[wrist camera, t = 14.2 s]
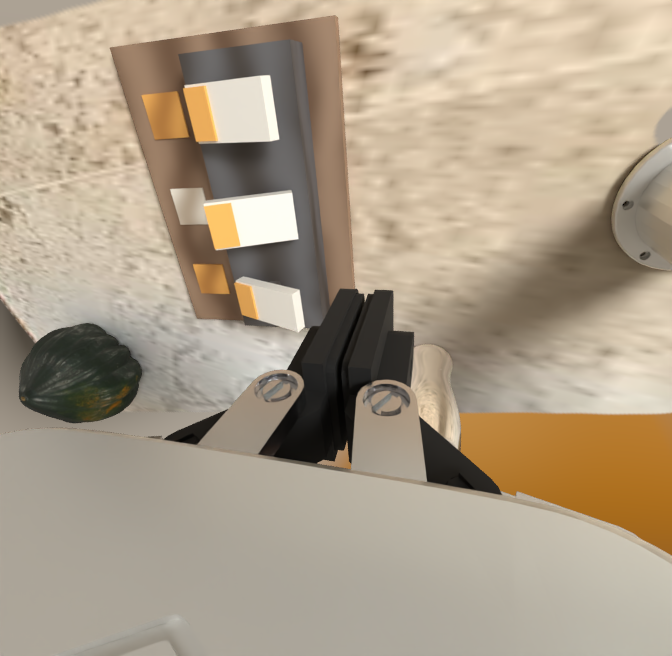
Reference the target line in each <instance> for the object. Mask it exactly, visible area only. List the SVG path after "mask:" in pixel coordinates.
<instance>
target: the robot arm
mask: <svg viewBox="0 0 672 656" xmlns="http://www.w3.org/2000/svg"><path fill="white" fill-rule="evenodd" d="M625 201H627V203H626V204H625V205H623V203H624V202H625ZM611 222H612V231H613V234H614V237H615V239H616V242H617V243H618V245H619V246H620V247H621V249H622V250H623V251H624V252H625V253H626V254H627V255H628V256H629V257H630V258H632V259H633V260H635V261H636V262H638V263H640V264H642V265H645V266H648V267H650V268H655V269H660V270H672V138H670V139H668V140H666V141H665V142H663V143H662V144H661V145H659V146H658V147H657V148H655V149H654V150H652V151H651V152H650V153H649V154H648V155H646V156H645V157H644V158H643V159H642V160H641V161H640V162H639V163H638V164H637V165H636V166H635V167H634V169H633V170H632V171H631V173H630V174H629V175H628V176H627V178H626V179H625V181H624V182H623V184H622V186H621V188H620V189H619V191H618V193H617V196H616V199H615V202H614V205H613V210H612V217H611ZM641 253H642V254H641ZM413 355H414V332H403V331H393V291H392V290H375V291H374V294H368V296H367V299H366V301H365V299H364V294H359V293H358V290H357V289H341V288H340V289H339V291H338V293H337V295H336V297H335V299H334V301H333V303H332V304H331V306H330V308H329V310H328V312H327V314H326V316H325V318H324V320H323V322H322V324H321V325H320V326H312V327H311V328H310V330H309V331H308V333H307V335H306V337H305V339H304V340H303V342H302V344H301V346H300V347H299V349H298V351H297V353H296V355H295V356H294V358H293V360H292V362H291V364H290V365H289V367H288V369H287V370H273V371H270V372H267V373H264V374H263V375H261V376H259V377H257V378H256V379H255V380H254V381H253V382H252V383H251V384H250V385H249V386H248V387H247V389H246V390H245V391H244V392H243V393H242V394H241V395H240V396H239V398H238V399H237V400H236V401H235V402H234V403H233V404H232V406H231V407H230V408H229V409H227V410H225V411H223V412H220V413H218V414H216V415H213V416H211V417H209V418H206V419H204V420H202V421H200V422H197V423H195V424H192V425H190V426H188V427H185V428H183V429H181V430H178V431H176V432H174V433H173V434H171V435H169V436H167V437H166V438H165V439H164V440H163V438H162V436H151V437H140V436H133V435H126V434H119V433H112V432H103V431H94V430H85V429H76V428H37V429H25V430H19V431H14V432H8V433H4V434H0V656H672V556H671V555H670V554H668V553H666V552H664V551H662V550H661V549H659V548H657V547H655V546H654V545H652V544H650V543H648V542H645V541H643V540H641V539H640V538H639V537H637V536H636V535H635V534H633V533H631V532H629V531H627V530H625V529H623V528H621V527H618V526H615V525H612V524H610V523H607V522H604V521H601V520H598V519H595V518H592V517H590V516H586V515H584V514H581V513H578V512H575V511H572V510H569V509H566V508H564V507H560V506H558V505H555V504H552V503H549V502H546V501H543V500H540V499H537V498H535V497H532V496H529V495H526V494H523V493H520V492H517V493H516V496H513V495H510V494H507V493H504V492H501V491H500V490H499V488H498V486H497V485H496V484H495V483H494V482H493V481H492V479H491V478H490V477H488V476H487V475H486V474H485V473H484V472H483V471H482V470H480V469H479V468H478V467H477V466H476V465H475V464H474V463H472V462H471V461H470V460H469V459H468V458H467V457H466V456H464V455H463V454H462V453H461V452H460V451H459V450H458V449H456V448H455V447H454V446H453V445H452V444H451V443H450V442H448V441H447V440H446V439H445V438H444V437H443V436H442V435H440V434H439V433H438V432H437V431H436V430H435V429H434V428H432V427H431V426H430V425H429V424H428V423H427V422H426V421H424V420H423V419H422V418H421V417H420V416H419V412H418V404H417V398H416V395H415V393H414V392H413V390H412V389H411V381H412V370H413ZM346 442H347V443H348V454H349V462H350V463H351V469H346V468H339V467H333V466H327V465H320V464H317V463H318V462H320V461H322V460H329V461H335V458H336V455H337V451H338V450H344V449H345V445H346Z"/></svg>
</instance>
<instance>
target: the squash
mask: <svg viewBox="0 0 672 656" xmlns="http://www.w3.org/2000/svg"><path fill="white" fill-rule="evenodd" d="M141 375H142V371H141V368H140V365H139V363H138V362H137V361H136V360H135V359H133V358H131V357H130V351H129V350H128V348H127V347H126V346H124V345H118V341H117V340H116V339H115V338H114V337H113V336H110V335H107V334H106V332H105V331H104V330H103V329H102V328H100V327H99V326H97V325H94V324H89V323H85V324H80V325H76V326H73V327H67V328H61V329H57V330H54V331H52V332H50V333H48V334H47V335H45V336H44V337H42V338H41V339H40V340H39V341H38V342H37V343H36V344H35V345H34V347H33V348H32V350H31V352H30V353H29V355H28V356H27V357H26V359H25V360H24V362H23V364H22V367H21V370H20V376H19V377H20V378H19V380H20V383H19V399H20V400H21V402H22V404H23V405H25V406H26V407H28V408H29V409H31V410H33V411H36V412H38V413H41V414H44V415H46V416H49V417H52V418H56V419H59V420H63V421H65V422H69V423H82V422H93V421H99V420H103V419H106V418H109V417H111V416H114V415H116V414H118V413H120V412H121V411H123V410H124V409H125V408H126V407H127V406H129V405H130V403H131V402H132V401H133V399H134V398H135V396H136V394H137V391H138V386H139V384H138V382H139V380H140V378H141Z"/></svg>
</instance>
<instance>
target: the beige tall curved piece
mask: <svg viewBox="0 0 672 656" xmlns="http://www.w3.org/2000/svg"><path fill="white" fill-rule="evenodd" d="M452 365H453V363H452V359H451V356H450V355H449V353H448V352H447V351H446V350H445V349H443V348H441V347H439V346H437V345H432V344H422V345H418V346H416V347H414V355H413V370H412V381H411V389H412V390H413V392H414V393H415V395H416V398H417V404H418V412H419V416H420V417H421V418H422V419H423V420H424V421H426V422H427V423H428V424H429V425H430V426H431V427H432V428H434V429H435V430H436V431H437V432H438V433H439V434H440V435H442V436H443V437H444V438H445V439H446V440H447V441H448V442H450V443H451V444H452V445H453V446H454V447H455V448H456V449H458V450H459V451H460V447H461V425H460V416H459V411H458V407H457V403H456V400H455V397H454V394H453V391H452V387H451V384H450V375H451V371H452Z"/></svg>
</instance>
